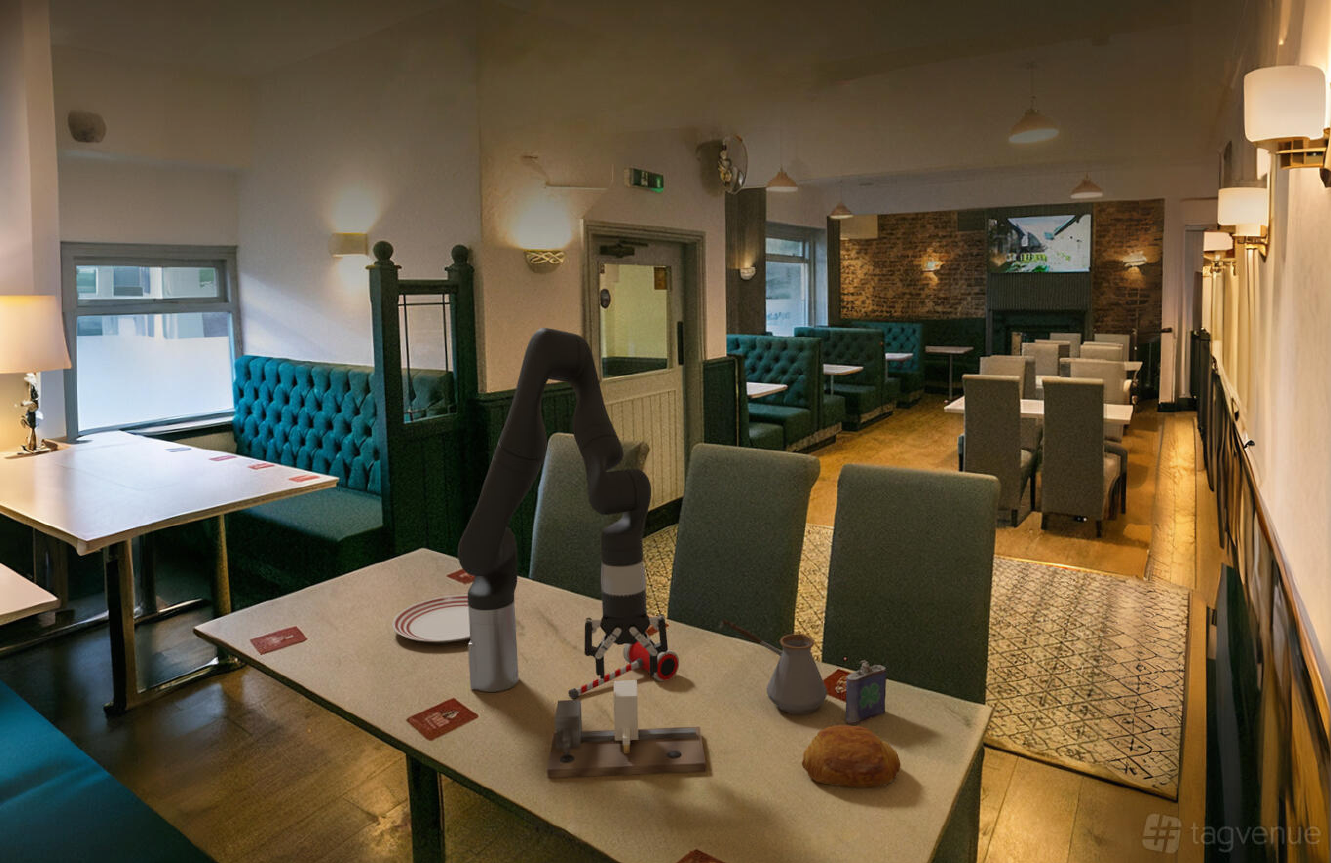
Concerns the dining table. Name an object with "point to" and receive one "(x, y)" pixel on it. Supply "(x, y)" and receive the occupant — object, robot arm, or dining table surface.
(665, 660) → the toy hammer
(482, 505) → the robot arm
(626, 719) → the gauge slider
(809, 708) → the coffee pot
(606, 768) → the base
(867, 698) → the flask
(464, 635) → the dinner plate
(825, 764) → the croissant
